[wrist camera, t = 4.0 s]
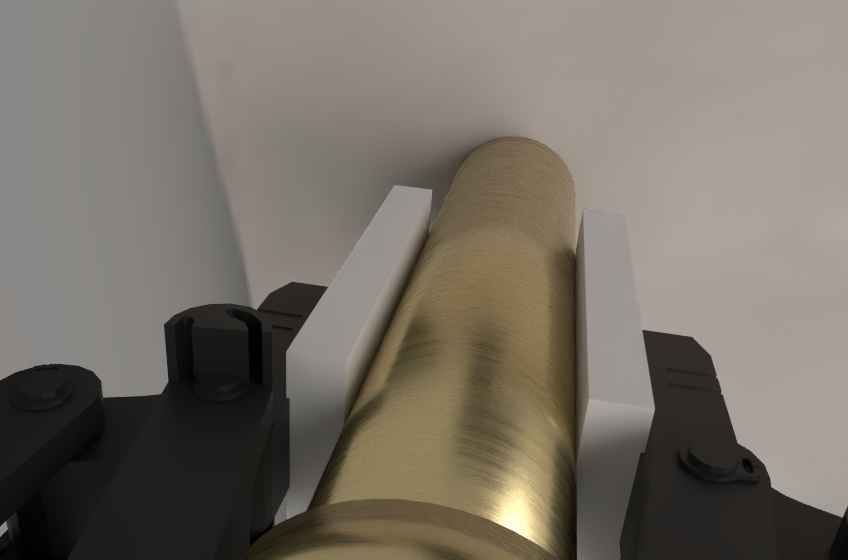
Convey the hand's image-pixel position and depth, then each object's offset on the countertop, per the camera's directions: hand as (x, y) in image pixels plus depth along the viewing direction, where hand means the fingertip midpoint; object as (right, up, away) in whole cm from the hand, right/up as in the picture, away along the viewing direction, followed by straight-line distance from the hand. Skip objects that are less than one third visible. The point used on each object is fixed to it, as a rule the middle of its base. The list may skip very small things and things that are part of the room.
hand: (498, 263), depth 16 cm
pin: (+1, +2, +4) cm, 4 cm away
